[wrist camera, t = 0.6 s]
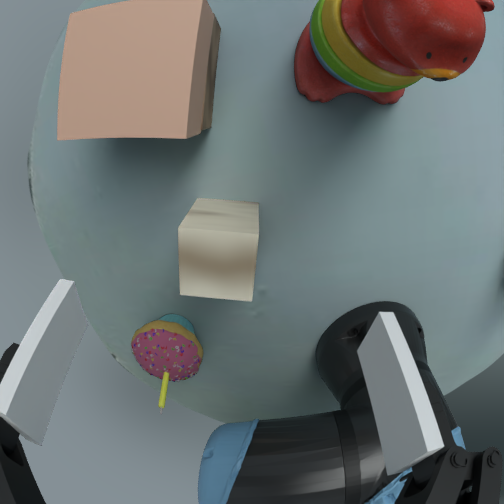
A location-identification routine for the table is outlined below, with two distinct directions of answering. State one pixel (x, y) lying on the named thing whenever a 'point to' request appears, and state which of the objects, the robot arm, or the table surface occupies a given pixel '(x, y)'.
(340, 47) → the stacking bear
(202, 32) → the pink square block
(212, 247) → the birch block
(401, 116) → the table surface
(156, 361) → the cupcake
